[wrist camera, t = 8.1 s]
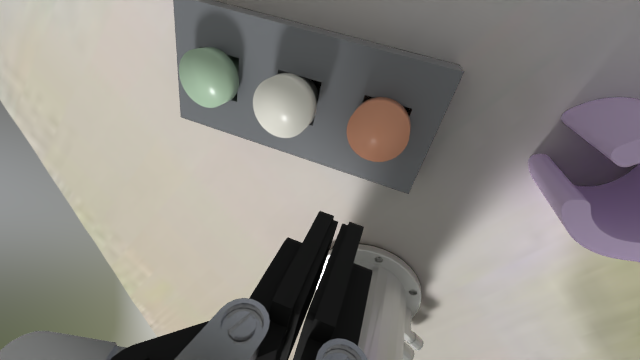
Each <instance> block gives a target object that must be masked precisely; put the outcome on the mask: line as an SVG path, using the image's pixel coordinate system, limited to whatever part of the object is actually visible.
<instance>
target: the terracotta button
mask: <svg viewBox="0 0 640 360" xmlns="http://www.w3.org/2000/svg"><path fill="white" fill-rule="evenodd" d="M410 127H411V124H410V118H409V115H408V113H407V111H406V110H405V108H404V107H403V106H402V105H401V104H400V103H398V102H397V101H395V100H393V99H390V98H386V97H376V98H371V99H369V100H366V101H365V102H363V103H362V104H361V105H359V107H358V108H357V109H356V110H355V112H354V113H353V115H352V116H351V117H350V119H349V122H348V125H347V139H348V142H349V144H350V146H351V148H352V149H353V150H354V152H355V153H356V154H358V155H359V156H360V157H362V158H364V159H366V160H369V161H373V162H384V161H388V160H391V159H393V158H395V157H397V156H398V155H399V154H401V153H402V151H403V150H404V149H405V147H406V146H407V144H408V141H409V136H410Z"/></svg>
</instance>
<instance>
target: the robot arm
mask: <svg viewBox="0 0 640 360" xmlns="http://www.w3.org/2000/svg"><path fill="white" fill-rule="evenodd" d="M333 218H334V216H332V215H330V214H327V213H324V212H321V211H320V212H319V213H318V215H317V217H316V219H315V221H314V222H313V224H312V226H311V228H310V230H309V232H308V234H307V236H306V237H305V239H304V241H303V243H301V242H298V241H296V240H293V239H291V238H287V239H286V240H285V241H284V243H283V245H282V246H281V248H280V250H279V251H278V253H277V254H276V256H275V258H274V259H273V261H272V262H271V264H270V266H269V267H268V269H267V271H266V272H265V274H264V275H263V277H262V279H261V280H260V282H259V284H258V285H257V287H256V288H255V290H254V292H253V293H252V295H251V296H250V298H249V299H248V298H241V299H235V300H233V301H231V302H229V303H227V304H226V305H225V306H223V307H222V308H221V309H220V310H219V311H218V312H217V314H216V315H215V316H214V317H213V318H212V319H211V320H210V321H207V322H204V323H201V324H198V325H195V326H192V327H188V328H185V329H182V330H179V331H176V332H173V333H170V334H166V335H163V336H160V337H157V338H154V339H151V340H148V341H144V342H141V343H138V344H135V345H132V346H130V347H128V348H126V347H120V346H117V344H116V343H115V342H109V341H103V340H97V339H92V338H86V337H79V336H74V335H68V334H62V333H56V332H50V331H35V332H32V333H28V334H25V335H22V336H20V337H19V338H17V339H15V340H13V341H11V342H10V343H9V344H7V345H6V346H5V347H4V348H3V349H1V350H0V360H288V358H289V356H290V353H291V351H292V348H293V346H294V343H295V341H296V338H297V336H298V333H299V331H300V328H301V325H302V323H303V320H304V318H305V315H306V313H307V310H308V308H309V305H310V303H311V300H312V298H313V295H314V293H315V295H314V298H313V300H312V303H311V305H310V308H309V311H308V313H307V316H306V319H305V322H304V326H303V329H302V332H301V335H300V339H299V342H298V345H297V348H296V352H295V355H294V358H293V360H413V358H414V350H413V349H412V348H411V347H410V346H409V345H408V344H406V343H405V342H404V341H407V343H409V344H410V345H411V346H412V347H413V348H414V349H415V350H420V349H421V348H422V347H423V340H422V339H421V338H420V337H419V336H418V335H416V334H415V333H414V332H412V331H411V318H412V317H413V316H414V315H415V314H416V313H417V311H418V310H419V307H420V304H421V286H420V283H419V280H418V278H417V276H416V274H415V273H414V272H413V270H412V269H411V268H410V267H409V266H408V265H407V264H406V263H405V262H404V261H403V260H401V259H400V258H398V257H397V256H396V255H394V254H392V253H390V252H388V251H386V250H383V249H380V248H377V247H374V246H369V245H363V244H359V242H360V239H361V235H362V232H363V228H364V227H362V226H360V225H357V224H354V223H352V222H349V224H348V225H345V224H342V226H341V229H340V231H339V234H338V236H337V239H336V241H335V244H334V246H333V249H331V250H330V246H331V243H332V240H333V237H334V234H335V230H336V227H337V224H338V222H337V221H334V220H333ZM315 290H316V292H315Z"/></svg>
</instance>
